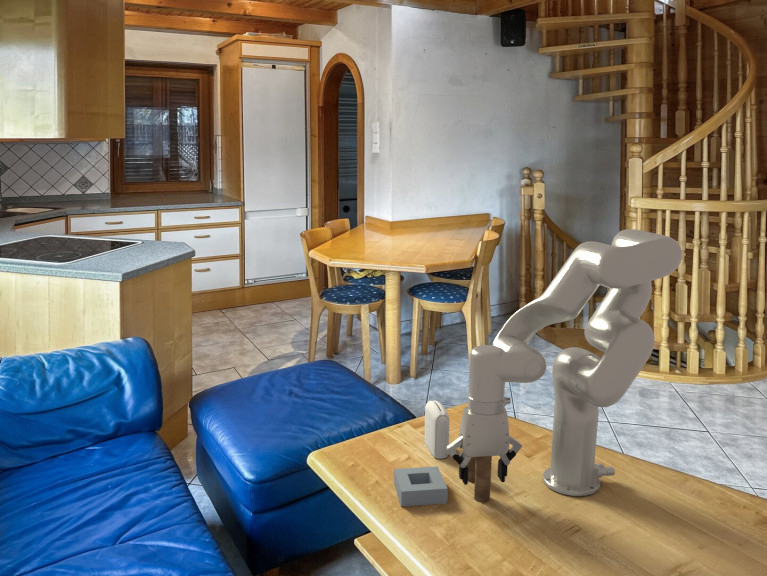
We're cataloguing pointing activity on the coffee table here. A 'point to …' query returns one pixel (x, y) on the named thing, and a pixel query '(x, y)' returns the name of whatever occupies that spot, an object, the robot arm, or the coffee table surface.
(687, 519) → the coffee table surface
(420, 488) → the hole block
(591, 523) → the coffee table surface
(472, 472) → the short dowel
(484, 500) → the tall dowel
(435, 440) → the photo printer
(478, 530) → the coffee table surface
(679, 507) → the coffee table surface
